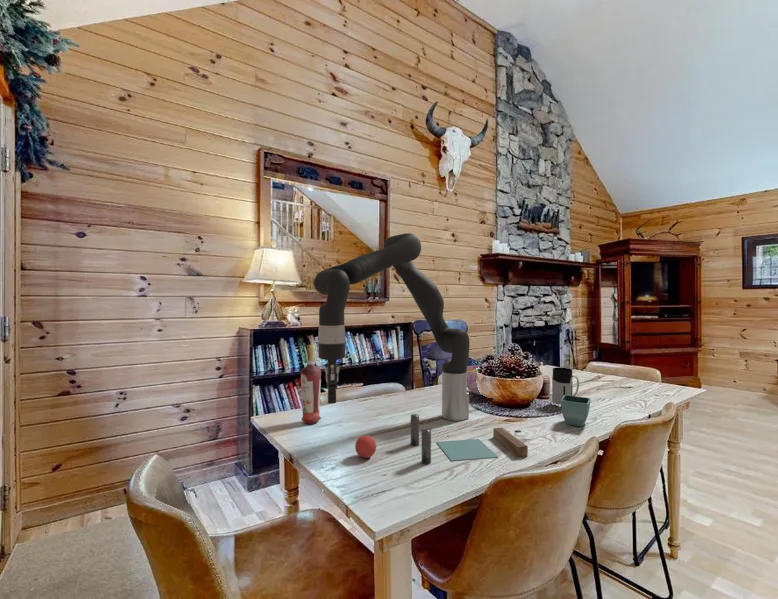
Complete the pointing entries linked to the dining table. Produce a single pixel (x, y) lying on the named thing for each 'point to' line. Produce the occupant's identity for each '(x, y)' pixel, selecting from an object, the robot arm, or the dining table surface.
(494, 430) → the wall
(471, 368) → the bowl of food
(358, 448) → the ball
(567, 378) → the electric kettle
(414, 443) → the post far
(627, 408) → the dining table surface
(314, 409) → the red condiment bottle
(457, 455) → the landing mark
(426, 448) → the post near
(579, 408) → the flower pot
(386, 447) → the dining table surface
